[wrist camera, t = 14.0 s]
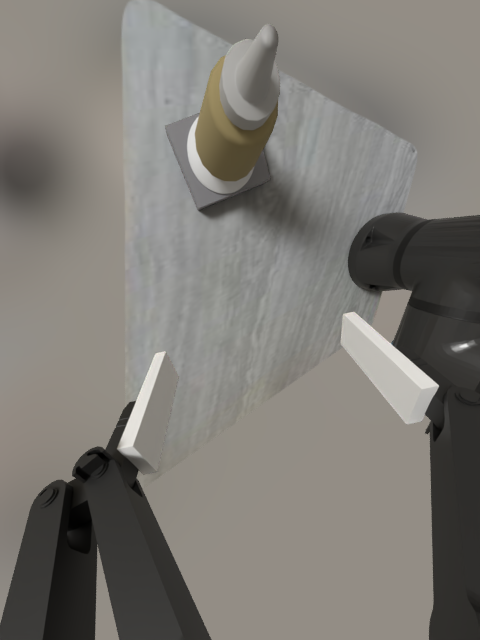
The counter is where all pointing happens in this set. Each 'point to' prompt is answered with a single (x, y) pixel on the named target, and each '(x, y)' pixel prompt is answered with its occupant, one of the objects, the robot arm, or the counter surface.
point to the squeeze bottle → (239, 107)
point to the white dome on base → (198, 177)
